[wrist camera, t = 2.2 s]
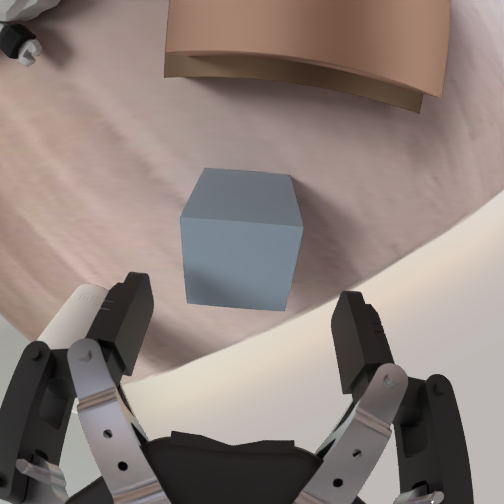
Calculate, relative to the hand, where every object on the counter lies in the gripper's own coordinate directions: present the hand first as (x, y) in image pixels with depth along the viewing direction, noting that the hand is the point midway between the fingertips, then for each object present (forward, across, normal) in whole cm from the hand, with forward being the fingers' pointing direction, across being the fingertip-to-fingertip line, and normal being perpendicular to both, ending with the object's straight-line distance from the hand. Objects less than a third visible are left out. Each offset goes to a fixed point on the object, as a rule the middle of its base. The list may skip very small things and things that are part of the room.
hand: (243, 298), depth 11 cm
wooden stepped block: (+7, -2, -14) cm, 16 cm away
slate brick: (+8, 0, 0) cm, 8 cm away
